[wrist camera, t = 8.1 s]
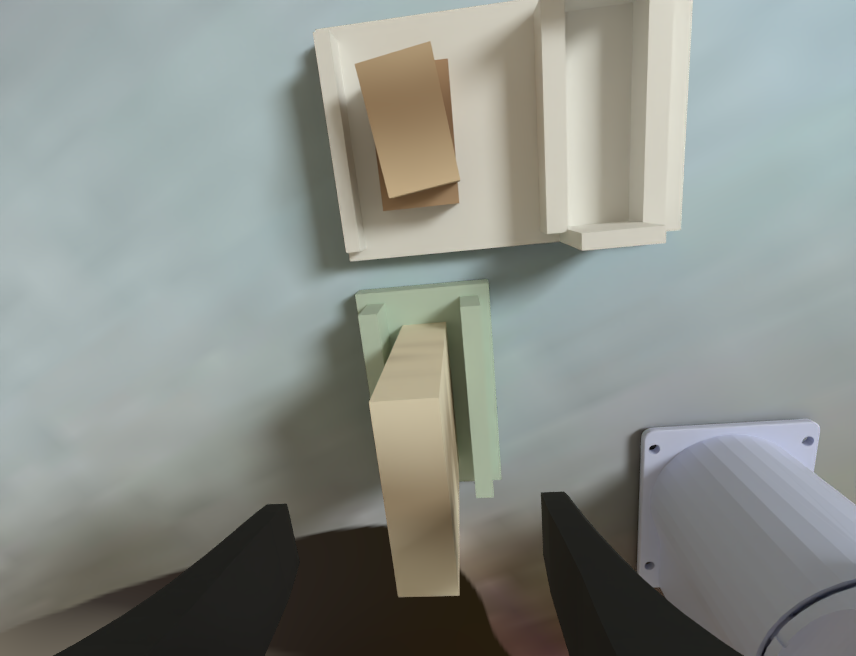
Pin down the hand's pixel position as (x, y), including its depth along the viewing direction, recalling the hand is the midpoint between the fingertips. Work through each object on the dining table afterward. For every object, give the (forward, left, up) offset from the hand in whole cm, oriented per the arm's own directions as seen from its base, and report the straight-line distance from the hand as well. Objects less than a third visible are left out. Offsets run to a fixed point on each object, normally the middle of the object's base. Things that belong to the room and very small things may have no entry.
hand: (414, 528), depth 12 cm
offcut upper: (+11, 0, -8) cm, 14 cm away
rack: (+11, -4, -10) cm, 15 cm away
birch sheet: (0, 0, -9) cm, 9 cm away
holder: (0, 0, -10) cm, 10 cm away
